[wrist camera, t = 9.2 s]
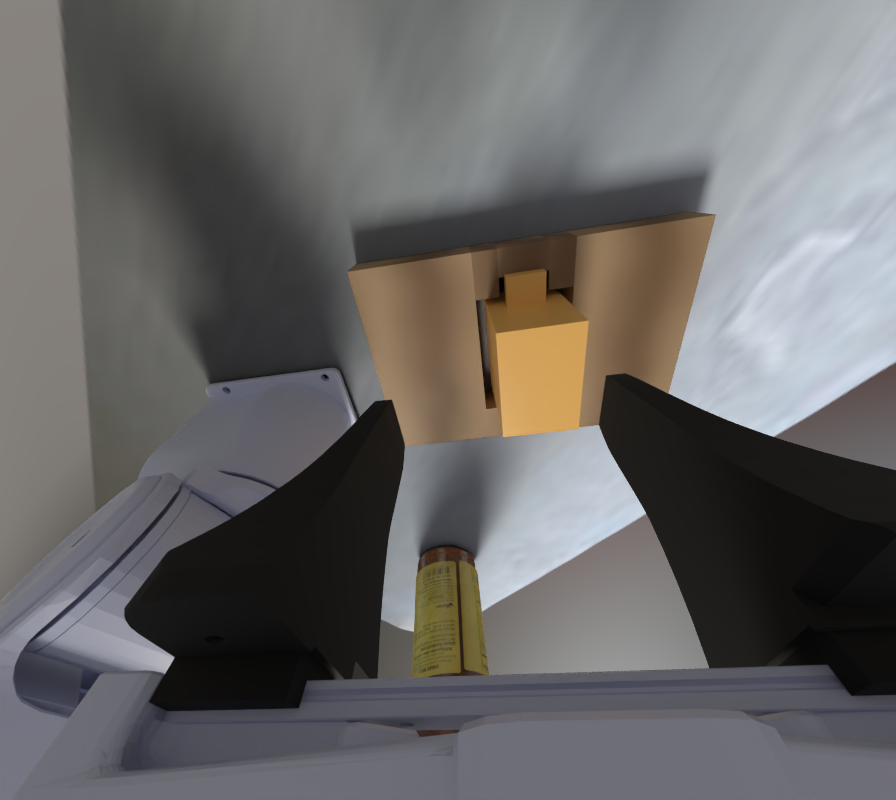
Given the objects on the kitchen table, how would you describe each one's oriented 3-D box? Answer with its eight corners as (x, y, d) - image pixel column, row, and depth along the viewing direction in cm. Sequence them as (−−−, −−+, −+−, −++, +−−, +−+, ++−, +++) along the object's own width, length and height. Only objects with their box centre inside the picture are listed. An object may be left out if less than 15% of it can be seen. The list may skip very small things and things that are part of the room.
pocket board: (402, 429, 25) (399, 446, 23) (356, 264, 18) (346, 272, 17) (646, 401, 24) (661, 417, 22) (689, 212, 17) (715, 214, 15)
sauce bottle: (410, 569, 36) (378, 904, 19) (428, 537, 32) (408, 906, 16) (466, 580, 37) (481, 904, 20) (488, 550, 34) (528, 905, 17)
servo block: (492, 399, 23) (504, 457, 18) (481, 268, 19) (493, 299, 14) (548, 392, 23) (576, 449, 18) (552, 257, 18) (592, 285, 13)
